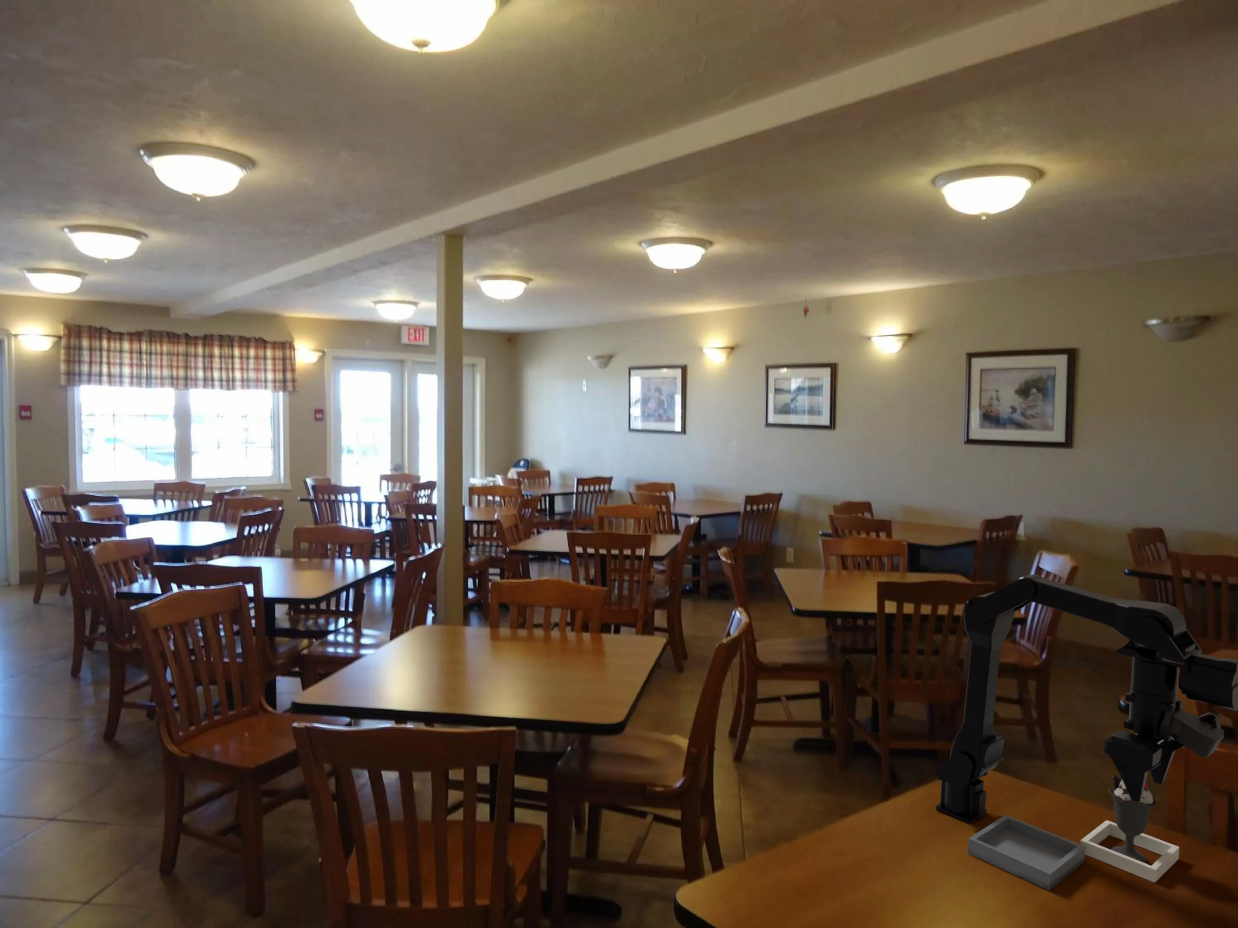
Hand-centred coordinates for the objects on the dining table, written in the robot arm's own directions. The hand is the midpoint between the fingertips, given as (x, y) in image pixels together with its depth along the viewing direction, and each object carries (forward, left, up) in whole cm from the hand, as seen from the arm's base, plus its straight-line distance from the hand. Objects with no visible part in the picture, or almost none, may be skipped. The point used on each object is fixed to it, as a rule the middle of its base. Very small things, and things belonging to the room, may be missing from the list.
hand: (1147, 791), depth 121 cm
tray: (-14, -6, -15) cm, 21 cm away
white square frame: (-4, +8, -15) cm, 17 cm away
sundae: (-4, +8, -15) cm, 17 cm away
